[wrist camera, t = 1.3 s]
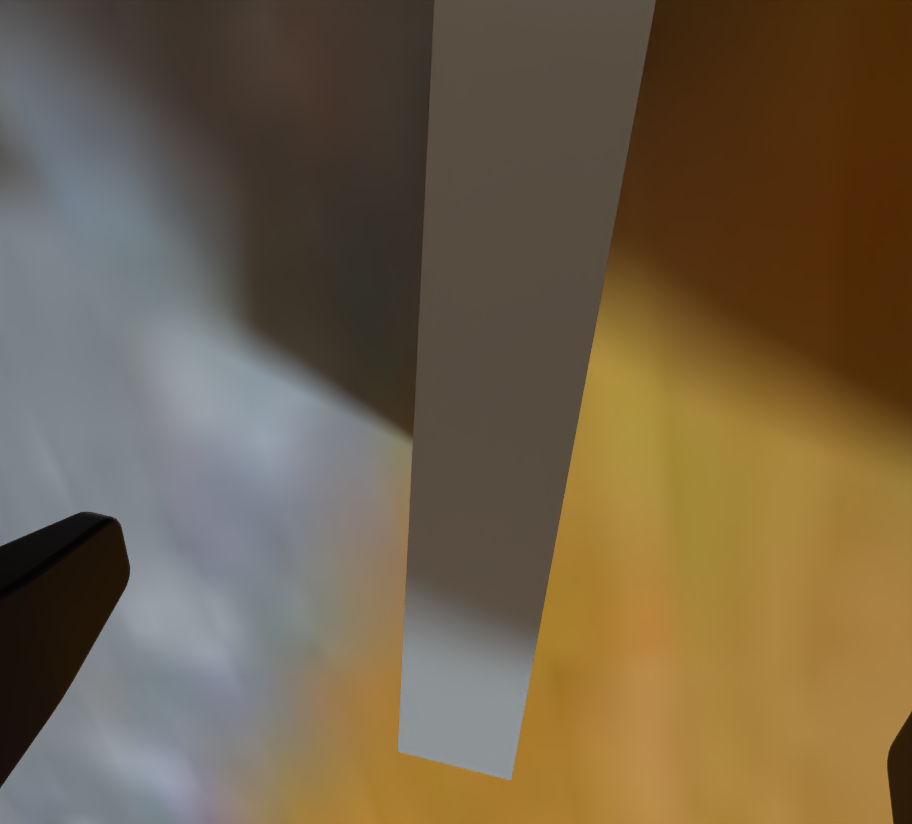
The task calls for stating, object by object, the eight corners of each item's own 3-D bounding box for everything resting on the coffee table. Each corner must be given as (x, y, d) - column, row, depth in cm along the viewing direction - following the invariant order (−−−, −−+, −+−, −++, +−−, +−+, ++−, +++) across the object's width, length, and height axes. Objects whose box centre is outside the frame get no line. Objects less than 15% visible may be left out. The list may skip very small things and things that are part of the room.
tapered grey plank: (715, -356, 8) (819, -882, 3) (559, 499, 14) (510, 780, 9) (580, -358, 8) (475, -851, 3) (484, 485, 15) (397, 751, 10)
